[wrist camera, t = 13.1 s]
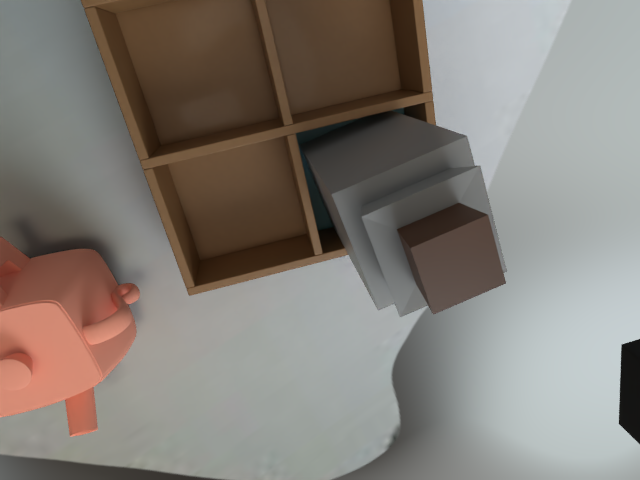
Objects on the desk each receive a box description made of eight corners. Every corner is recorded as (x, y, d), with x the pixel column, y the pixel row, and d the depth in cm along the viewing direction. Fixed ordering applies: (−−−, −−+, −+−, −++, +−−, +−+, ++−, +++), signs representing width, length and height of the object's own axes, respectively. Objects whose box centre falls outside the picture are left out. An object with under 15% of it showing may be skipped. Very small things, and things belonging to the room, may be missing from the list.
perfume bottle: (299, 145, 34) (352, 226, 17) (384, 108, 34) (521, 154, 17) (332, 224, 36) (406, 363, 20) (411, 190, 36) (552, 300, 20)
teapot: (114, 381, 39) (77, 476, 30) (-37, 327, 36) (-131, 418, 27) (175, 272, 37) (154, 341, 28) (18, 201, 33) (-65, 255, 24)
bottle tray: (105, 6, 29) (78, -5, 25) (388, -55, 31) (414, -76, 26) (196, 265, 37) (189, 296, 32) (422, 208, 38) (447, 229, 33)
